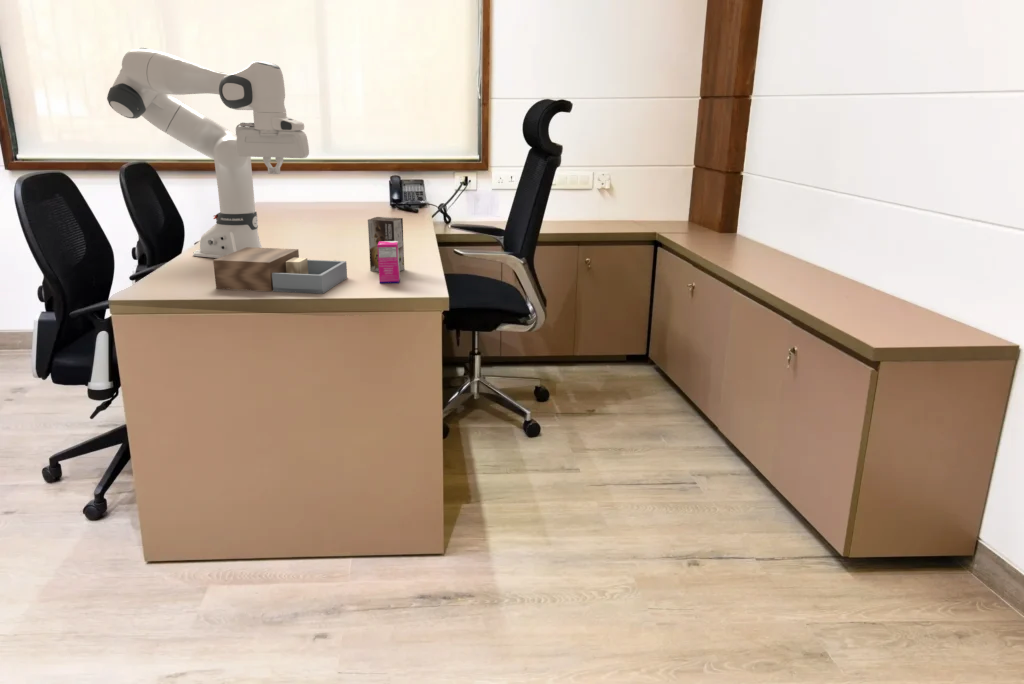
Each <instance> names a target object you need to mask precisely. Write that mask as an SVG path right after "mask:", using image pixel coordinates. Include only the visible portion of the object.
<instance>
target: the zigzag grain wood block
mask: <svg viewBox="0 0 1024 684" xmlns="http://www.w3.org/2000/svg"><path fill="white" fill-rule="evenodd" d="M299 252H300V251H299V248H279V247H277V248H276V247H262V248H254V247H246V248H243V249H241V250H238V251H236V252H233V253H230V254H228V255H225V256H223V257H220V258H215V259H213V260H212V261H213V262H212V263H213V271H214V281H215V288H216V290H217V289H218V290H233V289H238V290H239V291H257V292H260V291H262V292H274V291H273V280H272V273H286V261H288V260H290V259H292V258H300V254H299Z"/></svg>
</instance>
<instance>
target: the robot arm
mask: <svg viewBox="0 0 1024 684" xmlns="http://www.w3.org/2000/svg"><path fill="white" fill-rule="evenodd" d="M200 94H210V95H211V94H212V95H217V96H218V95H219V98H220V100H221V101H222V103H223V104H224V106H226V107H227V108H228V109H232V110H234V111H235V110H236V111H252V115H253V122H240V123H238V124H237V125H236V127H235V132H233V131H232V130H230V129H228V128H226V127H225V126H223V125H221V124H220V123H218V122H216V121H214V120H213V119H211V118H209V117H207V116H206V115H204V114H202V113H201V112H200V111H197V110H196V109H195V108H192V107H191V106H189V105H188V104H186V103H185V102H183V101H181V100H179V99H177V98H176V97H174V96H172V95H176V96H177V95H178V96H181V95H183V96H184V95H200ZM106 100H107V103H108V105H109V106H110V107H111V109H113V111H114V112H116V113H118V115H121V116H123V117H124V118H127V119H138V118H140V117H143V118H144V119H145V120H146V121H148V123H150V124H151V125H152V126H154V127H156V128H157V129H158V130H160V131H162V132H163V133H165V134H166V135H169V136H170V137H172V138H174V139H175V140H177V141H179V142H180V143H182V144H184V145H185V146H186V147H189V148H191V149H193V150H195V151H196V152H199V153H200V154H202V155H205V156H206V157H208V158H210V159H212V160H214V161H213V162H214V167H215V168H214V169H215V170H214V171H215V177H216V183H217V184H216V185H217V193H218V201H219V203H218V204H219V212H218V213H216V214H215V215H213V220H215V221H216V222H215V224H214V225H213V226H212V227H210V228H209V229H208V230H207V231H206V232H205V233H203V234H202V235H201V237H200V239H199V248H198V249H196V250H194V252H193V254H192V255H193V256H194V257H204V258H215V259H217V258H220V257H223V256H225V255H228V254H230V253H233V252H236V251H238V250H241V249H243V248H246V247H254V248H263V247H262V243H261V241H260V236H259V231H258V228H259V221H258V220H259V219H258V213H257V211H256V203H255V192H254V191H255V190H254V183H253V182H254V181H253V180H254V178H253V170H252V169H253V168H252V157H253V158H254V157H255V158H262V161H263V164H264V165H265V166H266V168H267V173H268V174H269V175H271V174H272V175H280V174H281V168H282V166H283V163H284V159H285V158H286V159H307V158H308V156H309V155H310V148H309V141H308V136H307V134H306V133H305V132H304V130H305V124H304V123H303V122H302V121H300V120H296V119H293V118H291V117H288V116H287V108H286V105H285V100H286V88H285V80H284V75H283V72H282V68H281V67H280V66H279V65H277V64H275V63H271V62H268V61H263V60H254V61H252V62H251V63H250V64H249V65H248V66H247V67H245V68H243V69H242V70H240V71H239V70H238V71H236V72H234V73H230V74H229V73H225V72H220V71H217V70H212V69H210V68H207V67H204V66H202V65H199V64H197V63H194V62H191V61H188V60H187V59H184V58H181V57H179V56H177V55H173V54H170V53H167V52H163V51H158V50H154V49H151V48H148V47H140V48H138V49H131V50H129V51H128V52H126V53H125V54H124V56H123V58H122V61H121V68H120V70H119V73H118V75H117V77H116V78H115V81H114V82H113V84H112V86H111V87H110V89H109V90H108V93H107V96H106ZM272 158H275V162H277V163H276V164H275V166H274V167H273V165H272V164H271V161H272Z"/></svg>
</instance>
